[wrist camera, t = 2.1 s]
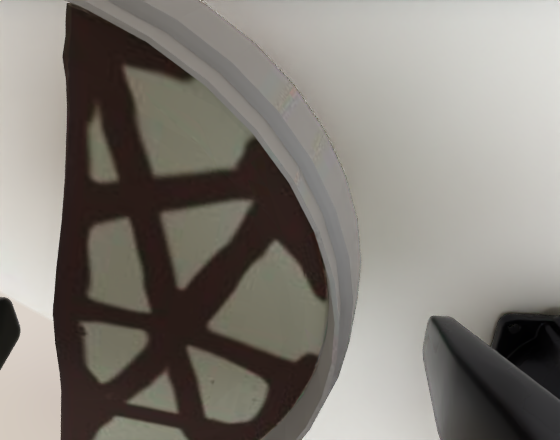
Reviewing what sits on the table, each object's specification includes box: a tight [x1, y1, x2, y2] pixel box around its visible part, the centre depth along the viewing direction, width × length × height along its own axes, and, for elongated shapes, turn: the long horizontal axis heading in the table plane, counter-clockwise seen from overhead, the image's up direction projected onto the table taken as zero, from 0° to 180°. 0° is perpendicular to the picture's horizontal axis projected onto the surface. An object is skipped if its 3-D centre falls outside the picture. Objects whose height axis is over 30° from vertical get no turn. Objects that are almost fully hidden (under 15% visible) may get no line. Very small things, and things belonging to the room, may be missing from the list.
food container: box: [53, 0, 361, 440], centre depth 12 cm, size 12×6×10 cm, turn 166°
